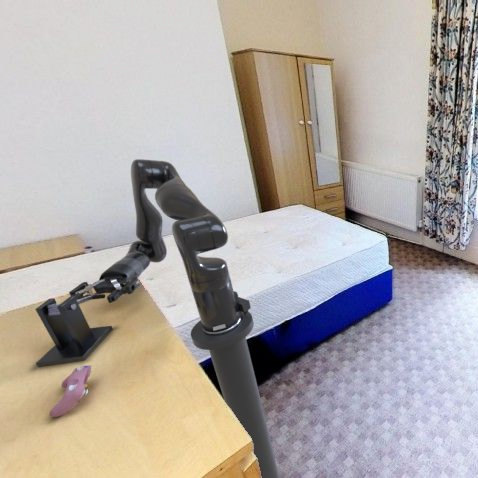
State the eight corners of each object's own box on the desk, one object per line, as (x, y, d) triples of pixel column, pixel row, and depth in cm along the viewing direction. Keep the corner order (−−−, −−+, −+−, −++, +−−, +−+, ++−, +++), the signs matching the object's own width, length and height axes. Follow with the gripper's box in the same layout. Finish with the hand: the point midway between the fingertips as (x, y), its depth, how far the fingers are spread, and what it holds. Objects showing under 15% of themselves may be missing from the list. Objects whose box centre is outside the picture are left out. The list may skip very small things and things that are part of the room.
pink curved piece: (79, 417, 66) (88, 388, 66) (46, 420, 63) (56, 390, 63) (90, 384, 74) (98, 358, 73) (61, 386, 71) (69, 359, 70)
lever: (81, 302, 88) (80, 293, 88) (106, 299, 90) (104, 291, 89) (39, 316, 76) (38, 306, 75) (69, 313, 77) (67, 303, 77)
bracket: (72, 334, 87) (50, 291, 81) (113, 329, 89) (94, 286, 83) (37, 367, 76) (9, 320, 70) (84, 360, 78) (60, 314, 73)
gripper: (91, 265, 98) (51, 294, 84) (146, 261, 102) (117, 287, 88) (100, 286, 102) (63, 317, 87) (153, 281, 105) (126, 310, 91)
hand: (90, 302), depth 88 cm, fingers open, 8 cm apart
